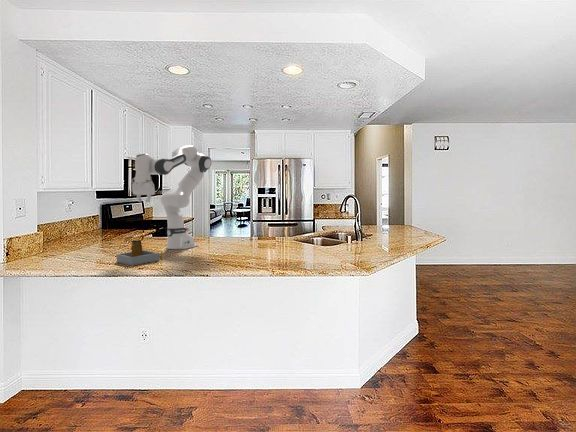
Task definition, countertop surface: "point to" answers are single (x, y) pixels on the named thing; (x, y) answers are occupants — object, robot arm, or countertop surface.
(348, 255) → the countertop surface
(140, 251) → the condiment
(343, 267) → the countertop surface
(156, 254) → the bin
